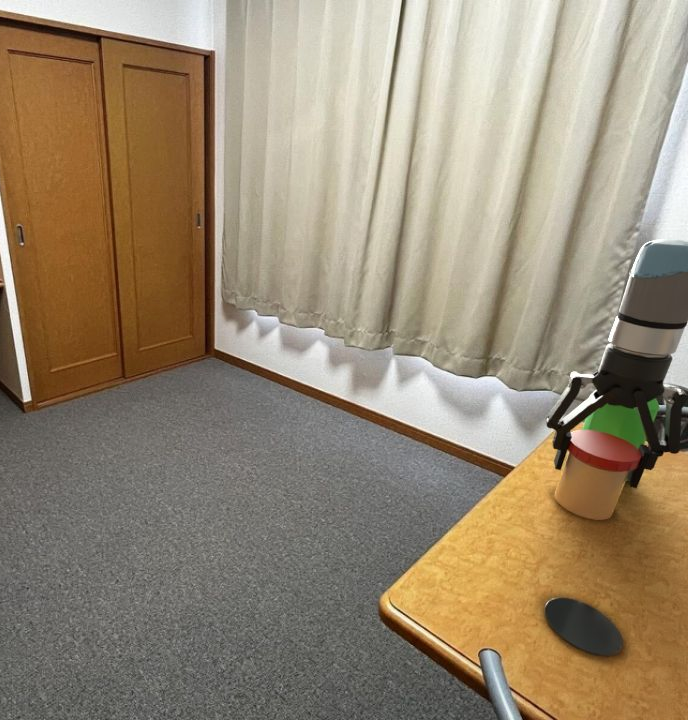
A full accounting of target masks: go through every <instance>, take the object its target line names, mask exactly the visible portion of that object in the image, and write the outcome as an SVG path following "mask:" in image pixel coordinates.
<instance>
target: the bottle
mask: <svg viewBox="0 0 688 720" xmlns="http://www.w3.org/2000/svg"><path fill="white" fill-rule="evenodd" d="M647 404H648V407H649V410H650V413H651V417H652V421H653V423H654V422H655V419H656V417H657V415H658V412H659V409H660V404H659V402H658V400H657V398H655V399H653V400H651V401H649V402H648V403H647ZM581 430H593V431H599V432H604V433H608V434H611V435H614V436H617V437H619V438H622V439H624V440H626V441H628V442H630V443H631V444H633V445H634V446H635V447H637V448H638V449H639V447H640V444H643V445H646V443H647V439H646V436H645V433H644V430H643V427H642V424H641V421H640V418H639V415H638V412H637V409H636V408H634V409H630V408H626V407H623V406H613V405H608V404H606V405H604V406H603V407H602V408H599V409H597V410H596V411H595V412H593V413H592V414H591V415H590V416H588V417H587V418H586V419H584V422H583V426H582V427H581ZM626 482H628V479H626Z"/></svg>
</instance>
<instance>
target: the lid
mask: <svg viewBox="0 0 688 720" xmlns="http://www.w3.org/2000/svg"><path fill="white" fill-rule="evenodd" d="M571 436H572V438H571V441H570V444H569V447H568V450H567V452H570V453H571V454H572V455H573V456H575V457H576V458H578V459H580V460H581V461H583V462H585V463H588V464H590V465H593V466H596V467H599V468H602V469H607V470H612V471H631V470H634V469H636V468H637V466H638V464H639V461H640V459H641V456H642V455H641V452H640V451H639V449H638V448H637V447H635V446H634V445H633V444H631V443H630V442H628V441H626V440H624V439H622V438H619V437H617V436H614V435H611V434H608V433H604V432H599V431H593V430H582V429H577V430H573V431H572V432H571Z"/></svg>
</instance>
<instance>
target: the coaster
mask: <svg viewBox="0 0 688 720" xmlns="http://www.w3.org/2000/svg"><path fill="white" fill-rule="evenodd" d="M543 613H544V617H545V621H546V622H547V624H548V626H549V628H551V629H552V631H553V632H554V633H555V634H556V635H557V636H558V637H559V638H561V640H563V641H564V642H566V643H567V644H569V645H570V646H571V647H573V648H575V649H578V650H579V651H581V652H583V653H586V654H589V655H592V656H597V657H613V656H616V655H618V654H619V653H620V652H621V651H622V649H623V646H624V641H623V636H622V634H621V632H620V630H619V629H618V627H617V626H616V624H614V623H613V621H612V620H611V619H610V618H609V617H608V616H606V615H605V614H604V613H603V612H601V611H600V610H598V609H597V608H595V607H593V606H592V605H590V604H588V603H586V602H583V601H580V600H578V599H574V598H569V597H555V598H551V599H550V600H548V601H547V602H546V604H545V606H544V609H543Z"/></svg>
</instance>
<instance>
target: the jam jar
mask: <svg viewBox="0 0 688 720" xmlns="http://www.w3.org/2000/svg"><path fill="white" fill-rule="evenodd" d="M629 472H630V471H612V470H607V469H602V468H599V467H596V466H593V465H590V464H588V463H585V462H583V461H581V460H580V459H578V458H576V457H575V456H573V455H572V454H571V453H570V452H569V451H567V454H566V457H565V460H564V463H563V466H562V469H561V474H560V476H559V478H558V482H557V485H556V488H555V491H554V494H553V496H554V499H555V501H556V503H558V504H559V505H560V506H561V507H562V508H564V509H565V510H567V511H568V512H570V513H572V514H574V515H576V516H578V517H579V516H580V517H582V518H586V519H589V520H597V521H601V520H608V519H610V518H612V516H613V514H614V512H615V510H616V509H615V508H616V506H617V503H618V502H619V499H620V496H621V494H622V491H623V490H624V489H623V488H624V487H625V484H626V482H627V481H626V479H627V477H628V474H629Z"/></svg>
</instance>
